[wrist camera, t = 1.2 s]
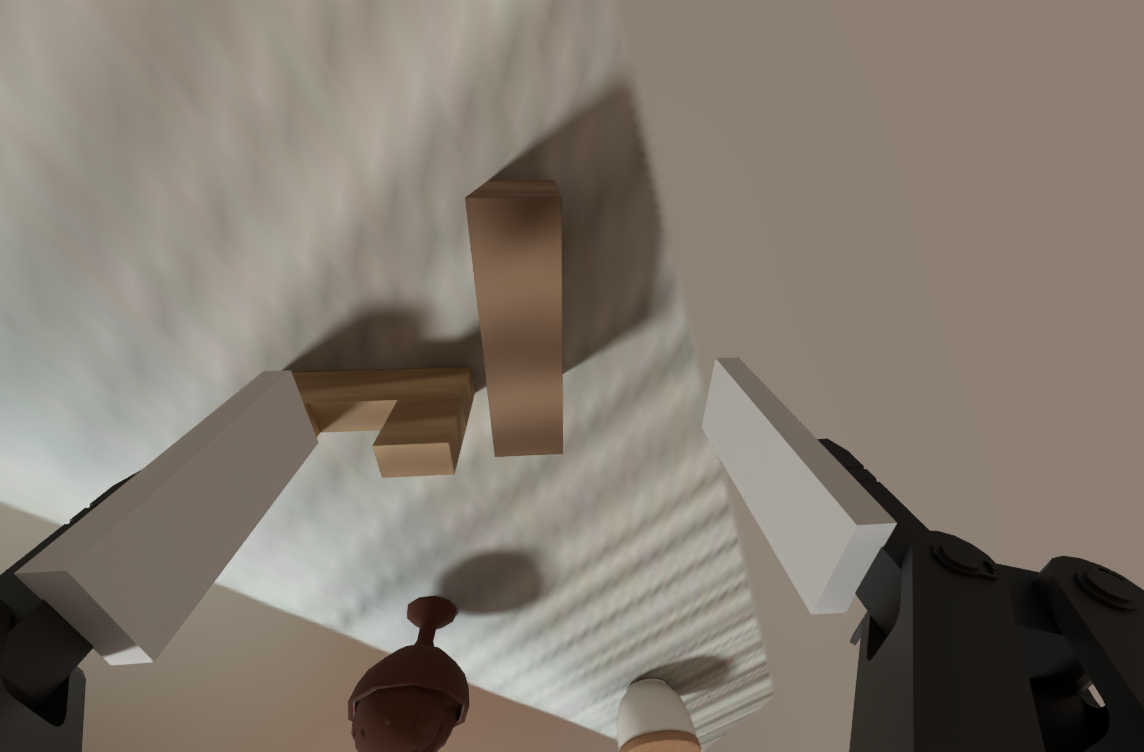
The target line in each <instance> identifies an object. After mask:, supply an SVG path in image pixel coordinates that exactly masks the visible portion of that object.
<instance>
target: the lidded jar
mask: <svg viewBox="0 0 1144 752" xmlns="http://www.w3.org/2000/svg"><path fill="white" fill-rule="evenodd" d="M617 739H618V748H619V752H701V747H700V743H699V740H698V738H697V736H696V732H695V728H694V725H693V722H692V719H691V716H690V714H689V712H688V709H687V707H686V705H685V703H684V702H683V700H682V699H681V697H680V696H679V695H678V694H677V693H676V692H675V691H674V690H673V689H672V688H671V687H669V686H668V685H667V683H666V682H665V681H663V680H661V679H656V678H648V679H642V680H639V681H636V682H634V683H632V684H631V685H629V686H628V687H627V689H626V694H625V695H624V697H623V698H622V700H621V703H620V706H619V709H618V714H617Z"/></svg>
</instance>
